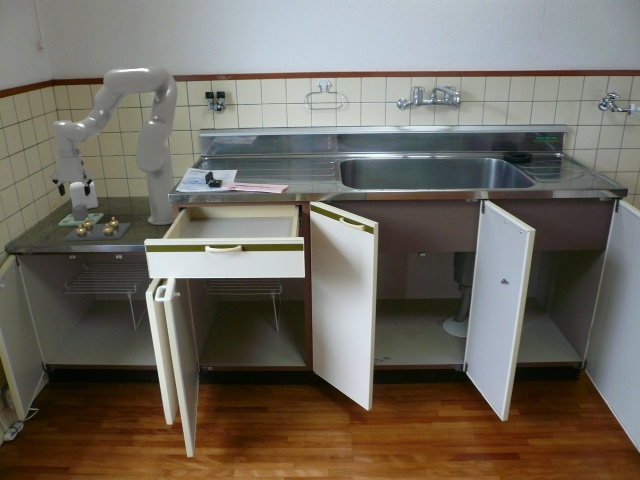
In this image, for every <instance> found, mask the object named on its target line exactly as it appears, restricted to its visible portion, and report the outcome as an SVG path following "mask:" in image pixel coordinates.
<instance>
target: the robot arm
mask: <svg viewBox="0 0 640 480" xmlns="http://www.w3.org/2000/svg"><path fill="white" fill-rule="evenodd" d="M102 81H103V85H102V86H101V88H100V89H99V90H98V92H97V93H96V94H95V96H94V100H95V105H94V106H93V108H92V110H91V111H90V112H89V114H88V115H87V116H86V117H85V118H84V119H82V120H78V121H75V122H73V121H72V120H68V119H67V120H65V119H64V120H62V119H61V120H56V121H54V122H53V123H52V130H53V136H54V141H55V148H56V152H57V156H56V161H55V162H56V165H55V167H56V171H54V172H53V173H51V174H49V176H48V177H49V178H50V179H51V181H52V183H54V185H56V187H57V188H58V193H59V194H60V197H63V196H64V195H65V196H66V190H65V185H64V184H63V183H74V182H82V183H83V184H84V185H85V186H84V191H85V196H88V195H89V194H90V184H91V182H92V181H93V182H94V179H95V177H96V174H94V173H92V172H90V171H88V170H87V167H86V165H85V161H84V158H83V156H82V155H81V154H83V150H82V149H80V148H79V146H78V142H79V143H85V142H88V141H89V140H91V139H93V138H95V137H97V136H98V135H99V134H101V132H103V131H104V129H105V128H106V126H107V125H108V124H109V123H110V121H111V119H112V118H113V115H114V114H115V112H116V110H117V109H118V108H119V107H120V105H121V104H122V103H123V101H124V100H125V99H126V97H127V96H128V95H135V94H148V93H153V92H154V95H153V99H152V104H151V110H150V111H151V112H150V116H149V118H148V119H147V120H145V121H144V122H143V123H142V125H141V127H140V129H139V133H138V139H137V145H136V153H135V164H136V165H137V168H138V169H139V170H140V171H141V172H143V173H145V177H146V179H145V180H146V185H147V193H148V200H149V207H150V216H148V218H147V220H148V221H147V222H148V223H149V224H151V225H155V226H156V225H157V226H160V225H161V226H164V225H165V226H166V225H171V224H174V223H175V222H174V215H173V209H172V204H171V203H169V201H168V194H169V193H170V191H171V190H172V189H173V180H172V167H171V166H172V165H171V161H172V159H171V152H170V150H169V149H168V147H167V145H165V142H166V141H167V140H168V139H169V138H171V136H172V135H173V134H172V133H173V127H174V120H175V114H176V108H177V101H178V85H177V82H176V80H175V78H174V76H173V75H172V74H171V73H170V72H169V71H168V70H167V69H166V68H164V67H162V66H159V65H150V66H146V67H142V68H141V67H139V68H125V67H118V68H114V69H110V70H109V71H107V72H106V73H105V74H104V76H103V80H102ZM56 176H57V178H56ZM88 177H89V179H88ZM173 190H174V189H173ZM173 222H174V223H173Z"/></svg>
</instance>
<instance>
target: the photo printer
mask: <svg viewBox="0 0 640 480" xmlns="http://www.w3.org/2000/svg"><path fill="white" fill-rule="evenodd" d="M84 186H85V185H84V184H83V183H82V182H71V183H70V184H69V193H70V198H71V199H70V200H71V205H72V209H73V208H74V207H75V206H76V205H79V204H86V206H87V210H88V209H94V208H99V202H98V198H97V197H98V196H97V192H96V185H95V183H94V180H93V181H92V182H91V184H90V194H89V195H88V196H85V191H84Z"/></svg>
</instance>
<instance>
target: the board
mask: <svg viewBox="0 0 640 480" xmlns="http://www.w3.org/2000/svg"><path fill="white" fill-rule="evenodd" d="M103 217H104V213H101V212H100V213H88V209H87V206H86V204H79V205H76V206H75V207H74V208H73V207H72V208H71V214H68V215H66V217H64V218H63V219H61V221H59V222H58V226H59V227H63V226H64V227H68V226H69V227H70V226H78V225H79V224H81V225H83V223H84V222H86V219H85V218H88V220H89V221H91V222H92V224H98V222H99V221H100V220H101V219H102V218H103Z"/></svg>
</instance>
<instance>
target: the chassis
mask: <svg viewBox="0 0 640 480" xmlns="http://www.w3.org/2000/svg"><path fill="white" fill-rule="evenodd" d="M85 219H86V222H84V223H83V225H81V224H79V225H76V227H74V229H73V230H71V231H70V232H69V233H68V234H67V235H66V236H65V237H64V240H65V242H71V241H73V242H75V241H99V240H100V241H106V240H108V241H109V240H110V241H111V240H121V239H122V237H123V236H124V235H125V234H126V232H127V231H128V230H129V228H130V227H131V223H130V222H129V223H125V222H124V223H119V221H118V220H116V219H115V216H111V221H109V222H108V223H96V224H92V222H91V221H89V220H88V218H85Z"/></svg>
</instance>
